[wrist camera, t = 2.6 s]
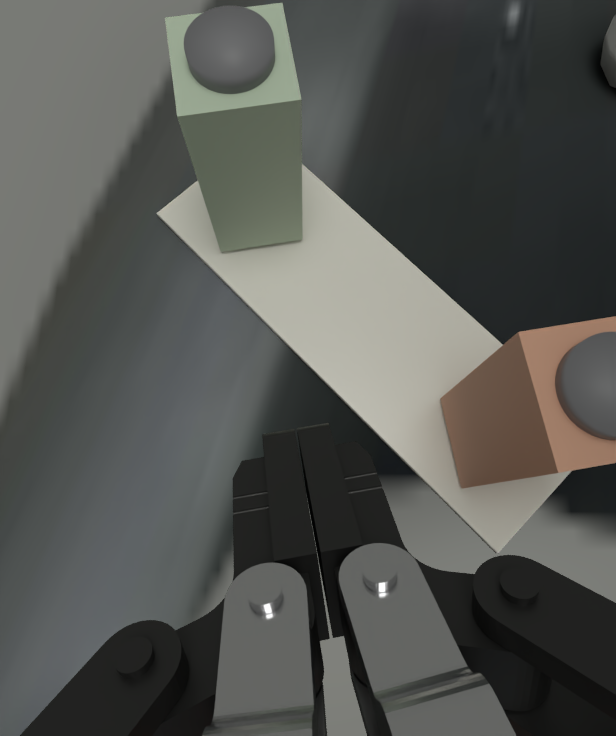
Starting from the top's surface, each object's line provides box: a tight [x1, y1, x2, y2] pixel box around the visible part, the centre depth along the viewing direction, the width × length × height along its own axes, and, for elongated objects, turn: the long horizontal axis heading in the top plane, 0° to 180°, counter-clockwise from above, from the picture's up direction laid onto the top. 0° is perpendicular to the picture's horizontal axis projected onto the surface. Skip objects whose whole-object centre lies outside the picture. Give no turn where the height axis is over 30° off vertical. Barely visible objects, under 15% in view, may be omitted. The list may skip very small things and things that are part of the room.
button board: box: [157, 164, 571, 553], centre depth 32 cm, size 28×9×1 cm, turn 44°
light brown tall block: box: [440, 316, 616, 488], centre depth 24 cm, size 5×5×12 cm
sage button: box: [165, 3, 303, 252], centre depth 27 cm, size 5×5×12 cm
